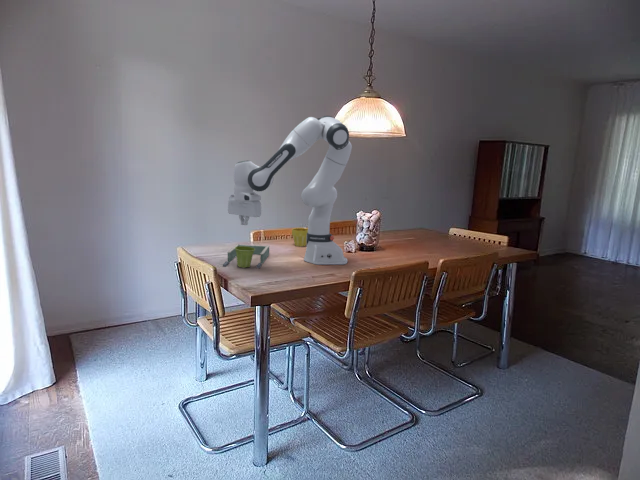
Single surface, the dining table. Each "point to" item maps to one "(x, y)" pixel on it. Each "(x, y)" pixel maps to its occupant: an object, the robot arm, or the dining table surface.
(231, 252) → the green u-shaped frame
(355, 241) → the dining table surface
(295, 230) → the plant pot
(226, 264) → the strips
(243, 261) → the plant pot
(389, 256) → the dining table surface
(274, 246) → the dining table surface
